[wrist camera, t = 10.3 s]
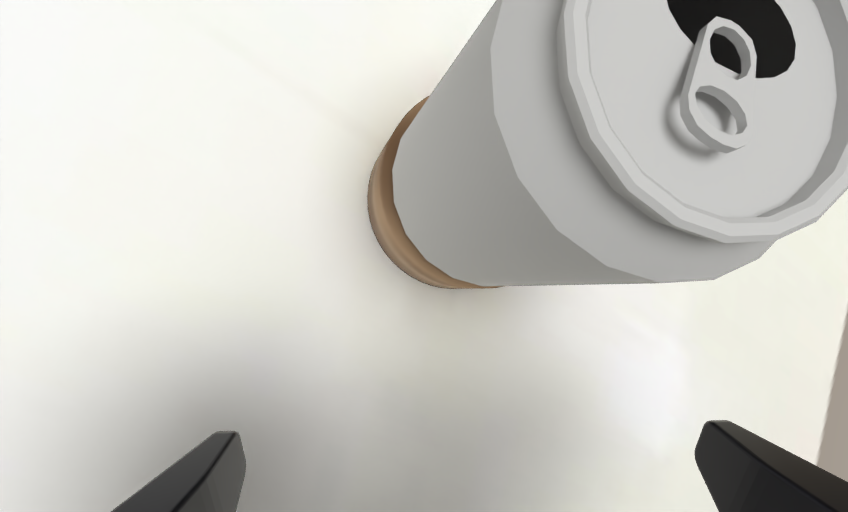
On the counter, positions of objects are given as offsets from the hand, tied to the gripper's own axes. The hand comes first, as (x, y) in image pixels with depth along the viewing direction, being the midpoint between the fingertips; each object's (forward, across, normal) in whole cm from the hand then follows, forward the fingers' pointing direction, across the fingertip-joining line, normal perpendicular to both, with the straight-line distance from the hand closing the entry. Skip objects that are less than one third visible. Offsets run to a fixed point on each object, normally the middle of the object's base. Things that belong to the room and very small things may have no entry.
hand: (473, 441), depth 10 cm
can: (+12, +2, 0) cm, 12 cm away
